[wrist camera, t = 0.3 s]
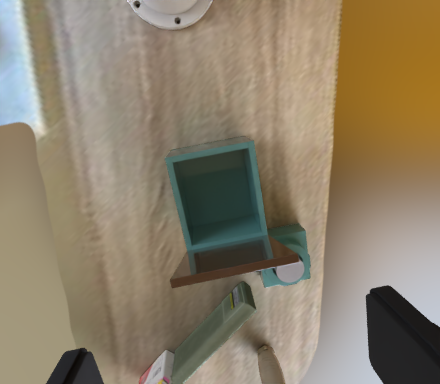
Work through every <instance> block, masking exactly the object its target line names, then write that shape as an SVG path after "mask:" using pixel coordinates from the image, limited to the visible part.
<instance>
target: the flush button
mask: <svg viewBox="0 0 440 384" xmlns="http://www.w3.org/2000/svg"><path fill="white" fill-rule="evenodd" d="M298 258H299V257H298ZM274 270H275V272H276V274H277V276H278V278H279V279H280V280H281V281H283V282H287V283H290V282H295V281H297V280H298V279H300V278H301V276H302V275H303V273H304V264H303V262H302V261H301V260H300V258H299V263H294V264H289V265H284V266H279V267H274Z"/></svg>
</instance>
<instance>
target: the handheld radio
mask: <svg viewBox="0 0 440 384" xmlns="http://www.w3.org/2000/svg"><path fill="white" fill-rule="evenodd" d="M255 312H256V307H255V303H254V299H253V295H252V291H251V288H250V286H249V285H248V284H246V283H245V282H241V283H240V284H238V285H237V286H236V287H235V288H234V289H233V290H232V291H231V292H230V294H229V295H228V296H227V297H226V298H225V299H224V300H223V301H222V302H221V303H220V305H219V306H218V307H217V308H216V309H215V310H214V311H213V312H212V313H211V314H210V315H209V316H208V317H207V318H206V319H205V320H204V321H203V322H202V323H201V324H200V325H199V326H198V327H197V328H196V329H195V330H194V331H193V332H192V333H191V334H190V335H189V336H188V338H187V339H186V340H185V341H184V342H183V343H182V344H181V345H180V346H179V347H178V348H177V349H176V350H175V356H174V363H173V370H172V377H171V381H172V383H171V384H184V383H185V382H186V381H187V380H188V379H189V378H190V377H191V376H192V375H193V374H194V373H195V372H196V371H197V370H198V369H199V368H200V367H201V366H202V365H203V364H204V363H205V362H206V361H207V360H208V359H209V358H210V357H211V356H212V355H213V354H214V353H215V352H216V351H217V350H218V349H219V348H220V347H221V346H222V345H223V344H224V343H225V342H226V341H227V340H228V339H229V338H230V337H231V336H232V335H233V334H234V333H235V332H236V331H237V330H238V329H239V328H240V327H241V326H242V325H243V324H244V323H245V322H246V321H247V320H248V319H249V318H250V317H251V316H252V315H253V314H254V313H255Z"/></svg>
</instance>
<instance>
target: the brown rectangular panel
mask: <svg viewBox="0 0 440 384" xmlns="http://www.w3.org/2000/svg"><path fill="white" fill-rule="evenodd" d="M294 263H299V258H298V254H297V253H295V252H294V251H292V250H291V249H289V248H288V247H286V246H285V245H283V244H282V243H280V242H279V241H277V240H275V239H274V238H272V237H271V236H269V235H264V236H259V237H254V238H249V239H244V240H239V241H234V242H229V243H224V244H219V245H214V246H209V247H204V248H199V249H194V250H189V251H187V252H186V254H185V255H184V257H183V259H182V260H181V262H180V264H179V266H178V267H177V269H176V271H175V272H174V274H173V276H172V277H171V279H170V283H171V288H176V287H181V286H186V285H191V284H195V283H200V282H205V281H210V280H215V279H220V278H225V277H230V276H235V275H240V274H245V273H249V272H254V271H259V270H264V269H269V268H274V267H279V266H284V265H289V264H294Z"/></svg>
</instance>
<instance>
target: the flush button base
mask: <svg viewBox="0 0 440 384" xmlns="http://www.w3.org/2000/svg"><path fill="white" fill-rule="evenodd" d="M267 233H268V235H269V236H271V237H272V238H274V239H275V240H277V241H279V242H280V243H282V244H283V245H285V246H286V247H288V248H289V249H291V250H292V251H294V252H295V253H297V254H298V257H299V258H300V260H301V261H302V262H303V264H304V273H303V275H302V276H301V278H300V279H298V280H297V281H295V282H290V283H287V282H283V281H281V280H280V279H279V278H278V276H277V274H276V272H275V270H274V268H269V269H264V270H259V271H260V277H261V280H262V282H263V285H264V288H266V287H271V286H275V285H282V286H288V285H293V284H297V283H298V282H299V281H300V280H305V279H310V266H311V265H310V256H309V254H308V250H307V241H306V231H305V230H304V228H303V227H302V226H301V225H300V224H299V223H297V224H292V225H287V226H282V227H277V228H272V229H267Z"/></svg>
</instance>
